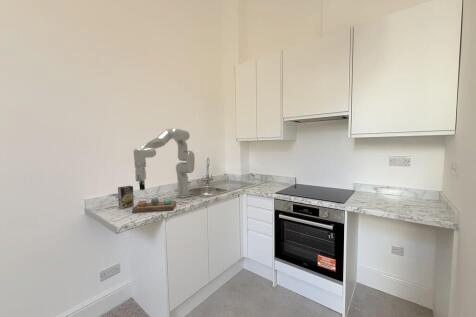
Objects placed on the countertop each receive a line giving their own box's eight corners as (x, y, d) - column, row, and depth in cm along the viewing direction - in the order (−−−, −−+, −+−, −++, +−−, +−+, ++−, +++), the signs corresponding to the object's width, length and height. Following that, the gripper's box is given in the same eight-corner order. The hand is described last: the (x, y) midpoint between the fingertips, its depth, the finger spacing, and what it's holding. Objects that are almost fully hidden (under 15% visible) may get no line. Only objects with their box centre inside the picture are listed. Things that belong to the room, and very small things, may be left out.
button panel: (138, 207, 161) (138, 203, 161) (175, 204, 165) (175, 201, 165) (132, 213, 148) (132, 208, 147) (172, 210, 152) (172, 206, 151)
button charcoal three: (152, 202, 158) (152, 198, 158) (159, 201, 159) (159, 198, 159) (150, 204, 153) (150, 200, 153) (157, 203, 154) (157, 199, 154)
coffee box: (122, 209, 157) (120, 188, 156) (118, 207, 161) (117, 187, 160) (134, 206, 164) (133, 186, 163) (130, 204, 168) (129, 185, 167)
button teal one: (164, 203, 160) (164, 199, 159) (171, 202, 160) (171, 198, 160) (163, 204, 155) (163, 200, 155) (170, 204, 155) (170, 200, 155)
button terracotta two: (140, 204, 157) (139, 200, 157) (146, 204, 158) (146, 200, 158) (137, 206, 152) (137, 202, 152) (145, 206, 153) (144, 202, 153)
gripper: (138, 164, 160) (140, 187, 162) (131, 167, 145) (133, 192, 147) (148, 163, 161) (150, 187, 163) (142, 166, 146) (144, 191, 148)
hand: (142, 189), depth 155 cm, fingers closed
